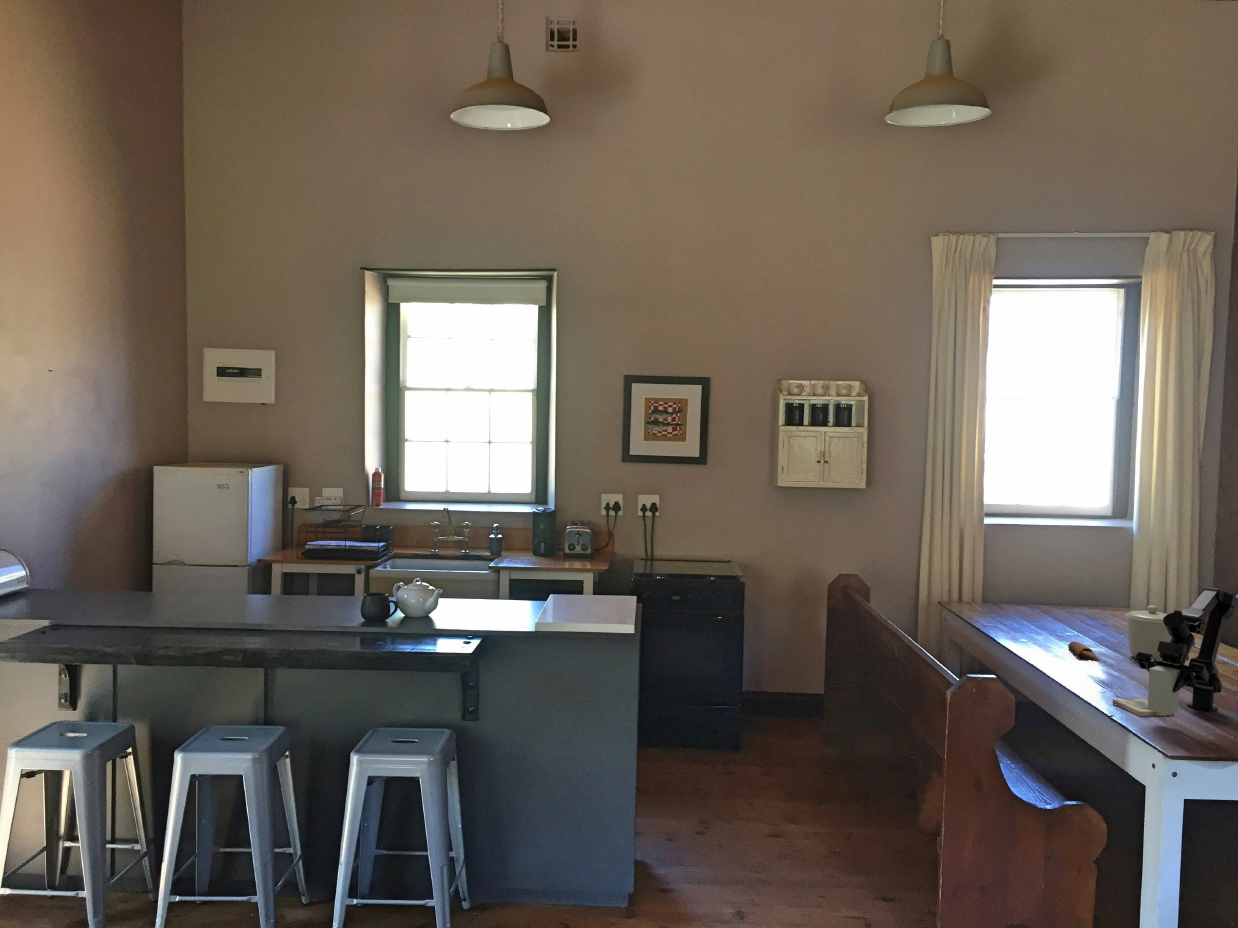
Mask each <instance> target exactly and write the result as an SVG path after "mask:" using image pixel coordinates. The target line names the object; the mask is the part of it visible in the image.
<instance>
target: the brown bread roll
mask: <svg viewBox="0 0 1238 928" xmlns="http://www.w3.org/2000/svg"><path fill="white" fill-rule="evenodd" d="M1067 649H1069V650H1070V651H1071V652H1072V653H1073V654H1074V655H1075V656H1076V657H1077V658H1078V659H1079V661H1089V660H1091V661H1092V662H1101V660H1100V658H1099V657H1098V656H1097V654H1096V653H1095V652H1093V649H1092V648H1090V647H1088V646H1087V645H1085V644H1083V643H1080V642H1077V641H1071V642H1070V643H1068V646H1067ZM1091 661H1090V662H1091Z"/></svg>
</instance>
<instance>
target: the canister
mask: <svg viewBox="0 0 1238 928" xmlns="http://www.w3.org/2000/svg"><path fill="white" fill-rule="evenodd" d="M1167 614H1168V613H1165V612H1158V607H1157V606H1156V605H1148V606H1147V608H1146V610H1132V611H1129V612H1127V613H1125V614H1124V615H1125V618H1126V622H1127V624H1126V625H1127V635H1128V637H1127V638H1128V648H1129V652H1130V655H1131V657H1133V658H1135V656H1136V654H1137V653H1138V652H1145V653H1150V654H1152V655H1153V657H1154V658H1155V659H1158V660H1162V658H1160V652H1158V651H1157V649H1158V644H1159V641H1163V642H1170V640H1171V638H1172V637H1171V636H1170V635H1169V634H1168V632H1167V629H1166V627H1165V625H1164V622H1163V618H1164V617H1165V616H1166V615H1167Z"/></svg>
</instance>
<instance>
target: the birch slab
mask: <svg viewBox="0 0 1238 928" xmlns="http://www.w3.org/2000/svg"><path fill="white" fill-rule="evenodd" d="M1112 703H1113V704H1116V705H1117V706H1116V707H1118V706H1120V707H1122V708H1124V709H1126V710H1125V711H1127V710H1128V711H1127V712H1129V711H1130V712H1129V713H1131V712H1132V713H1131V714H1134V715H1136V716H1138V715H1139V716H1138V717H1158V716H1159V715H1160V716H1159V717H1164V716H1166V715H1167V714H1163V713H1159V712H1155V711H1151V710H1148V698H1147V699H1146V698H1138V699H1137V698H1136V699H1135V698H1130V699H1129V698H1127V699H1125V698H1122V699H1112ZM1113 704H1112V705H1113ZM1120 707H1119V708H1120ZM1122 708H1121V709H1122ZM1124 709H1123V710H1124ZM1162 715H1163V716H1162ZM1170 716H1175V713H1173V714H1171V715H1170ZM1166 717H1167V716H1166Z"/></svg>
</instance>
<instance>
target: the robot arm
mask: <svg viewBox="0 0 1238 928" xmlns="http://www.w3.org/2000/svg"><path fill="white" fill-rule="evenodd" d="M1236 609H1238V597H1237V596H1236V595H1235V593H1231V592H1230V593H1229V592H1226V591H1224V590H1223V589H1221V588H1216V587H1210V586H1207V587H1203V588H1202V591H1201V594H1200V595H1199V596H1198V597H1197V599H1196V600H1195V601H1194V602H1193V604H1192V605H1191V606H1190V607H1189V608H1185V609H1182V610H1176V609H1175V610H1174V611H1173V612H1170V613H1166V614H1167V615H1166V616H1165V617H1164V618H1163V622H1164V625H1165V627H1166V629H1167V632H1168V634H1169V635H1170V636H1171V637H1172V638H1171V640H1170V642H1163V641H1159V644H1158V649H1157V651H1158V652H1160V658H1162V660H1158V659H1155V658H1154V657H1153V655H1152V654H1150V653H1145V652H1138V653H1137V654H1136V656H1135V657H1134V658H1135V660H1136V663H1137V665H1138V667H1139V668H1140V669H1141V670H1146V671H1147V672H1148V673H1149V669H1150V668H1152V667H1155V666H1163V667H1167V668H1172V669H1177V670H1180V675H1179V677H1178V679H1177V681H1176V683H1175V685H1174V687H1173V693H1175V692H1177V691H1178V690H1179V691H1180V690H1181V689H1183V688H1184V687H1188V688H1192V697H1191V698H1192V700H1191V702H1192V703H1188V704H1187V705H1186V707H1189V708H1192V709H1193V708H1194V709H1196V710H1201V711H1204V712H1212V711H1216V710H1219V707H1217V706H1216V705H1215V706H1214V701H1215V694H1216V693H1217V694H1218V693H1219V694H1221V693H1222V689H1223V683H1222V680H1221V679H1220V676H1219V669H1218V667H1217V664H1216V660H1217V655H1218V652H1219V651H1218V650H1219V647H1220V643H1221V640H1222V636H1223V634H1224V629H1225V625H1226V621H1228V620H1229V619H1231V617H1232V616H1234V614H1235V611H1236ZM1207 617H1208V618H1207ZM1206 618H1207V622H1206ZM1202 633H1203V636H1202V640H1201V643H1200V648H1199V651H1198V655H1197V656H1196V657H1191V658H1190V657H1189V655H1190V652H1191V649H1192V648H1193V647H1194V646H1195V645H1196V642H1195V641H1196V638H1195V636H1194V634H1196V635H1201V634H1202ZM1187 661H1189V663H1188V665H1185V664H1186V662H1187Z"/></svg>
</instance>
